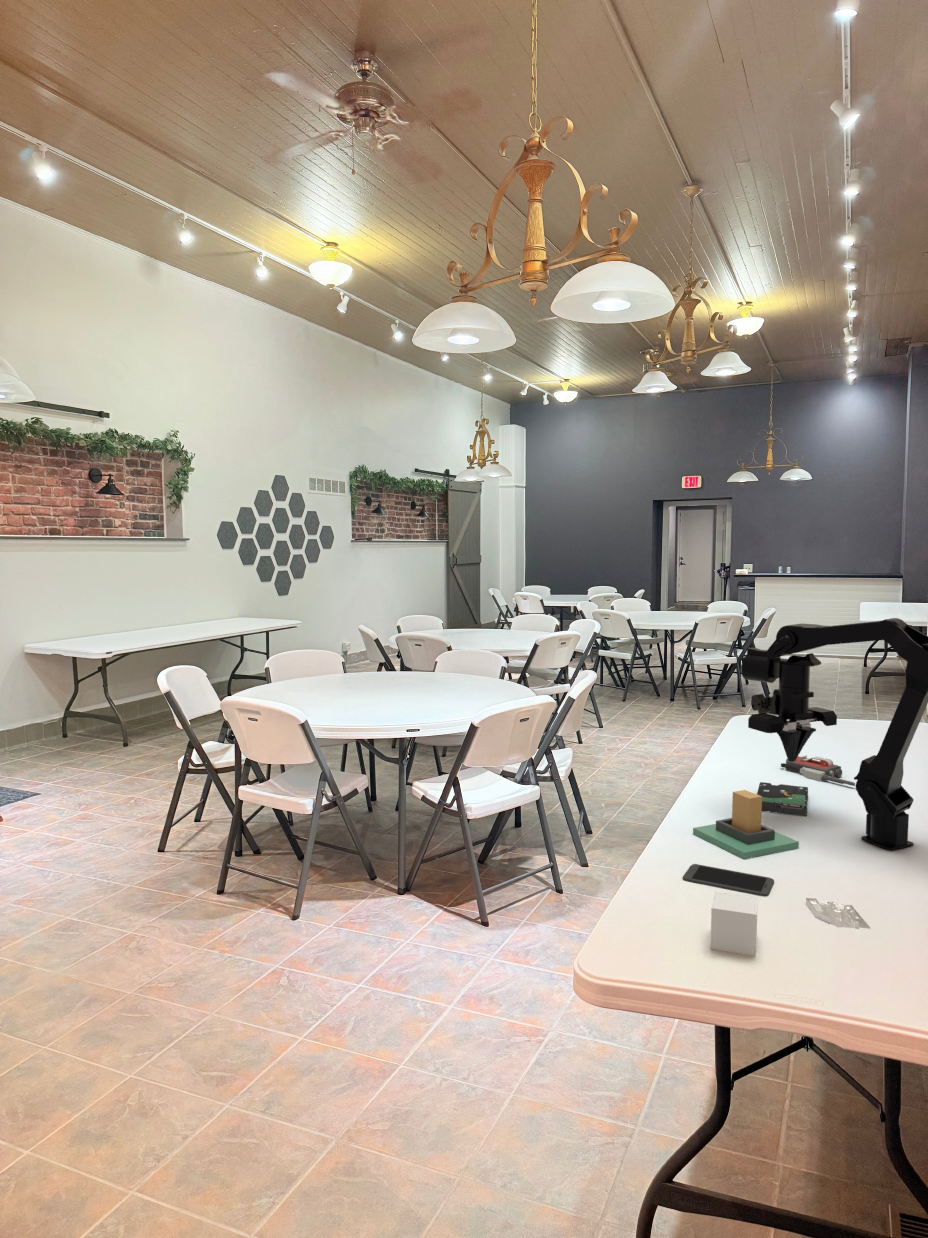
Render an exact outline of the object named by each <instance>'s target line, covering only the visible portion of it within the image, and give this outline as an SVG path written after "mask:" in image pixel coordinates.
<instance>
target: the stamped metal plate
mask: <svg viewBox="0 0 928 1238" xmlns="http://www.w3.org/2000/svg"><path fill="white" fill-rule="evenodd" d="M805 905H806V906H807V907H808V909H809V910H810V911H811V913H812V914H813V916H814V917H815V918H817V919H819V920H821V921H822V922H826V923H828V924H830V925H832V926H835V927H836V928H844V929H869V930H871V926H869V924H868V923H867V922H866V921H865V920H864V918H863V917H862V915H861V914H860V913H859V912H858V911H857V910H856V909H855V907H854V906H853V904H844V905H843V906H844V907H843V908H844V909H842V908H839V907H837V906H842V904H838V903H834V901H826V903H820V902H819V900H817V898H816V897H815V898H811V897H810V898H809V897H806V898H805Z"/></svg>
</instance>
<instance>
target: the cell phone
mask: <svg viewBox="0 0 928 1238" xmlns="http://www.w3.org/2000/svg"><path fill="white" fill-rule="evenodd" d="M682 881H684V882H689V883H693V884H698V885H703V886H707V887H708V886H709V887H713V888H720V889H723V890H728V891H734V892H739V893H743V894H744V893H745V894H748V895H752V896H753V895H754V896H759V897H769V895H770V894H771V891H772V889H773V887H774V884H775V880H774V878H771V877H769V876H764V875H763V876H762V875H757V874H752V873H747V872H741V871H735V870H730V869H724V868H719V867H714V866H707V865H703V864H698V863H693V864H691V865H690V866H689V867H688V868H687V870H686V872H684V874H683V876H682Z"/></svg>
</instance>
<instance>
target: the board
mask: <svg viewBox="0 0 928 1238" xmlns="http://www.w3.org/2000/svg"><path fill="white" fill-rule="evenodd" d="M692 835H695V836H697V837H699V838H700V839H703V840H705V841H706V842H709V843H711V844H712V845H715V846H717V847H719V848H721V849H723V850H725V851H727V852H728V853H731V854H733V855H735V856H737V857H739V858H742V860H747V859H752V858H755V857H756V858H757V857H760V856H761V857H762V856H766V855H771V854H772V855H773V854H777V853H781V852H785V851H790V850H795V849H799V848H800V847H799V846H800V841H799V840H796V839H793V838H791V837H788V836H786V835H784V834H782V833H779V832H778V831H776V830H775V829H772V828H770V827H769V826H766V825H764V824H761V831H758V832H753V833H747V832H744V831H742V830H740V829H738V828H736V827H733V826H732V817H730V818H724V819H718V820H715V823H714V824H707V825H703V826H702V825H701V826H697V827H693V828H692ZM751 857H752V858H751Z"/></svg>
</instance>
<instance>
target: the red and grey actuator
mask: <svg viewBox="0 0 928 1238" xmlns="http://www.w3.org/2000/svg"><path fill="white" fill-rule="evenodd" d="M833 762H834V761H833V760H832V759H830V758H824V757H822V756H814V757H810V758H809V757H808V755H802V756H799V755H798V757H797V759H796V760H795V761H794V762H791V761H788V758H786V759H785V762H783V763H780V767H781V768H783V769H785V770H786V772H787V771H788V772H791V773H796V774H799V773H800V775H801V776H803V777H804V778H805V777H806V779H809V778H810V780H813V779H814V781H818V782H823V781H822V780H824V781H826V782H827V781H829V782H833V783H837V784H840V785H841V784H842V785H848V786H849V785H850V786H853V787H856V782H853V781H851V780H846V779H842V776H843V770H842V766H840V765H838V764H834V763H833ZM835 777H836V778H835Z"/></svg>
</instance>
